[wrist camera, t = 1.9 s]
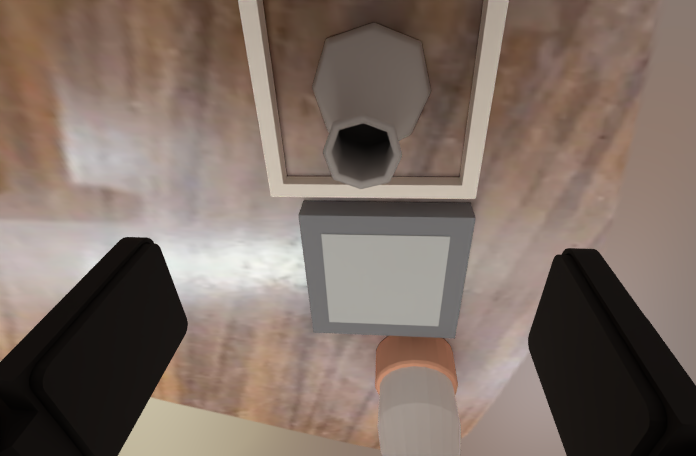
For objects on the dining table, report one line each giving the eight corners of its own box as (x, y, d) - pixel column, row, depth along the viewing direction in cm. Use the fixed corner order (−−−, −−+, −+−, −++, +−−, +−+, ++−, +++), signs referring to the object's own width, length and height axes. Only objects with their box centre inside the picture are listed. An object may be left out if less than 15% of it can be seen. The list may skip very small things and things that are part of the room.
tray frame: (237, -46, 21) (230, -47, 20) (512, -60, 19) (518, -61, 18) (275, 188, 29) (271, 196, 28) (472, 190, 27) (475, 198, 26)
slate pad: (303, 200, 29) (298, 216, 27) (470, 202, 28) (475, 218, 26) (316, 315, 36) (313, 333, 34) (451, 320, 35) (454, 339, 33)
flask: (439, 23, 22) (470, 62, 14) (423, 146, 26) (439, 233, 18) (310, 20, 22) (264, 55, 14) (314, 141, 26) (281, 224, 18)
